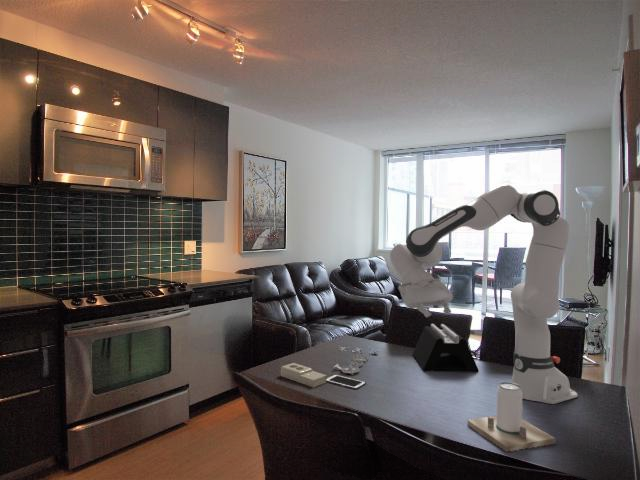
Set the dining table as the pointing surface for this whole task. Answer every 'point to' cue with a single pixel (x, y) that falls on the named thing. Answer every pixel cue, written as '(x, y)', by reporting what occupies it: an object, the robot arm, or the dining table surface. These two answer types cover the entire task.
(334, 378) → the cell phone
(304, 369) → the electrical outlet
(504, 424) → the can
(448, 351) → the device stand
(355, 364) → the drone parts
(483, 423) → the pin plate
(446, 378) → the dining table surface
